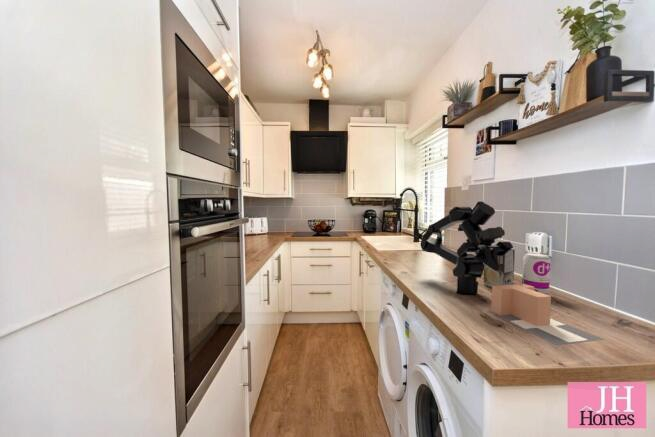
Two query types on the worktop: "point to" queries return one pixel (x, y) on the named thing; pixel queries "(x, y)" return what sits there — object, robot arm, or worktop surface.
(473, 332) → the worktop surface
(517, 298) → the t block
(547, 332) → the mat
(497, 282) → the coffee box
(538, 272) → the supplement can
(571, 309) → the worktop surface
